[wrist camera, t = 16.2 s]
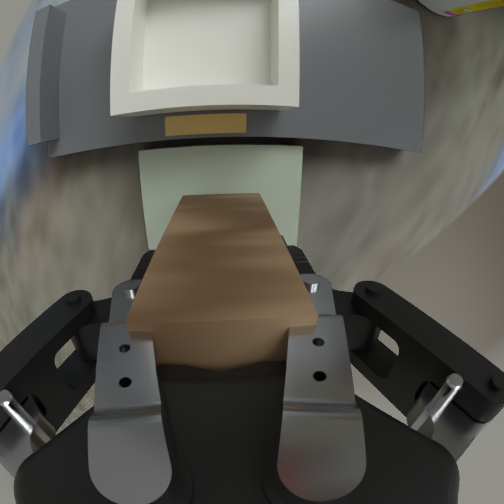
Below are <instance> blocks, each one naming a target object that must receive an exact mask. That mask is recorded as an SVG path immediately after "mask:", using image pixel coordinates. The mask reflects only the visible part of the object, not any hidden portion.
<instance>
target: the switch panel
mask: <svg viewBox="0 0 504 504" xmlns="http://www.w3.org/2000/svg"><path fill="white" fill-rule="evenodd" d="M116 5H117V0H70V1H68V2H65V3H63V4H60V5H58V6H56V7H53V6H52V5H49V6H46V7H44V8H42V9H40V10H38V11H36V14H35V19H34V24H33V29H32V35H31V42H30V49H29V58H28V68H27V83H26V132H27V146H30V145H35V144H39V143H43V142H47V147H48V158H52V157H57V156H61V155H66V154H71V153H76V152H81V151H87V150H93V149H98V148H105V147H111V146H118V145H125V144H133V143H142V142H151V141H161V140H173V139H188V138H207V137H287V138H306V139H320V140H332V141H343V142H352V143H360V144H368V145H376V146H383V147H389V148H396V149H402V150H407V151H413V152H418V153H421V152H422V141H423V127H424V101H425V79H424V54H423V40H422V30H421V21H420V14H419V11H417V10H414V9H412V8H410V7H408V6H405V5H403V4H400V3H398V2H395V1H392V0H299V42H300V78H299V107H296V108H291V109H286V110H248V109H233V110H200V111H184V112H172V113H161V114H152V115H144V116H110V73H111V53H112V39H113V29H114V20H115V12H116Z"/></svg>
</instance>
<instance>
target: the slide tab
mask: <svg viewBox="0 0 504 504" xmlns="http://www.w3.org/2000/svg"><path fill="white" fill-rule="evenodd" d="M299 78H300V42H299V0H117V5H116V12H115V20H114V29H113V39H112V53H111V73H110V116H144V115H152V114H161V113H172V112H184V111H200V110H233V109H248V110H286V109H291V108H296V107H299Z"/></svg>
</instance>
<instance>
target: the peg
mask: <svg viewBox="0 0 504 504" xmlns="http://www.w3.org/2000/svg"><path fill="white" fill-rule="evenodd" d="M317 318H318V313H317V310H316V308H315V306H314V304H313V302H312V300H311V298H310V295H309V293H308V291H307V289H306V287H305V285H304V283H303V280H302V278H301V276H300V274H299V272H298V270H297V268H296V266H295V264H294V262H293V260H292V257H291V255H290V253H289V251H288V249H287V247H286V245H285V243H284V241H283V239H282V237H281V235H280V233H279V231H278V229H277V227H276V225H275V223H274V221H273V219H272V217H271V215H270V213H269V211H268V209H267V207H266V205H265V203H264V201H263V199H262V197H261V195H260V193H236V194H203V195H183V196H182V198H181V200H180V202H179V204H178V206H177V208H176V210H175V212H174V214H173V216H172V218H171V220H170V222H169V224H168V226H167V228H166V230H165V232H164V234H163V236H162V238H161V240H160V242H159V244H158V246H157V248H156V251H155V253H154V255H153V257H152V259H151V261H150V264H149V266H148V268H147V270H146V273H145V275H144V277H143V279H142V282H141V284H140V286H139V289H138V291H137V293H136V296H135V298H134V300H133V303H132V305H131V308H130V310H129V313H128V315H127V318H126V320H125V321H126V324H127V328H128V331H141V332H152V335H153V338H154V342H155V345H156V349H157V352H158V365H188V366H193V367H198V368H203V369H209V370H214V371H228V370H232V369H236V368H240V367H244V366H248V365H252V364H256V363H260V362H273V361H284V360H286V354H287V351H286V350H287V342H288V334H289V327H297V326H307V325H316V323H317Z"/></svg>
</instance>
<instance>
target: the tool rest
mask: <svg viewBox="0 0 504 504" xmlns="http://www.w3.org/2000/svg"><path fill="white" fill-rule="evenodd" d="M138 154H139V168H140V181H141V191H142V201H143V210H144V218H145V226H146V233H147V240H148V247H149V250H156V248H157V246H158V244H159V242H160V240H161V238H162V236H163V234H164V232H165V230H166V228H167V226H168V224H169V222H170V220H171V218H172V216H173V214H174V212H175V210H176V208H177V206H178V204H179V202H180V200H181V198H182V196H183V195H203V194H236V193H260V195H261V197H262V199H263V201H264V203H265V205H266V207H267V209H268V211H269V213H270V215H271V217H272V219H273V221H274V223H275V225H276V227H277V229H278V231H279V233H280V235H282V236H283V237H284V239H285V241H286V243H287V245H295V246H296V247H297V238H298V225H299V211H300V195H301V178H302V159H303V146H300V145H289V144H208V145H188V146H173V147H161V148H150V149H142V150H140V151H138Z"/></svg>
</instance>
